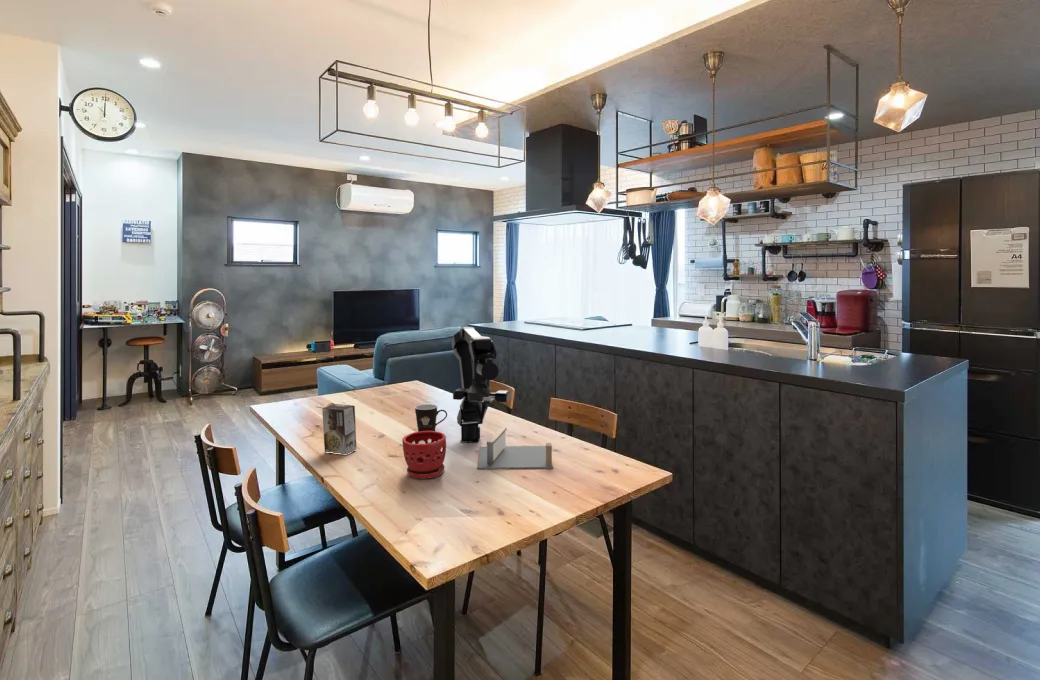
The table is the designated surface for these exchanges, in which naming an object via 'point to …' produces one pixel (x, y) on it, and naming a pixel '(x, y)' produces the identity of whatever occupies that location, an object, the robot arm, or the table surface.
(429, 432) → the plant pot
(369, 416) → the table surface
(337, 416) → the coffee box
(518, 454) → the gate frame
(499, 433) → the gate
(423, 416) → the coffee mug
